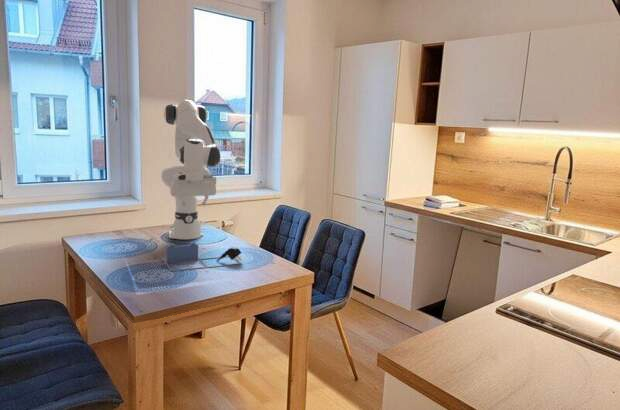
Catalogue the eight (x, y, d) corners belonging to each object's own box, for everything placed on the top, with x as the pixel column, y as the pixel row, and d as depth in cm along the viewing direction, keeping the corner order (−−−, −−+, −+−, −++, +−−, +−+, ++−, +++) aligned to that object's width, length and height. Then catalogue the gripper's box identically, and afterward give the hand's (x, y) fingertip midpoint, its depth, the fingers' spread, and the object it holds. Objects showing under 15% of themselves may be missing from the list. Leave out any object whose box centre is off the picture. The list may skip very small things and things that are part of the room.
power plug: (218, 258, 208) (236, 243, 206) (228, 270, 208) (246, 256, 205) (213, 261, 203) (232, 246, 200) (223, 274, 203) (242, 259, 200)
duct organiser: (163, 261, 201) (163, 244, 200) (231, 255, 217) (231, 239, 215) (170, 271, 188) (170, 252, 187) (242, 264, 203) (242, 246, 202)
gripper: (214, 174, 208) (214, 203, 210) (169, 174, 198) (169, 204, 201) (218, 176, 202) (217, 205, 205) (172, 176, 193) (172, 207, 195)
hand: (193, 205), depth 203 cm, fingers open, 8 cm apart
